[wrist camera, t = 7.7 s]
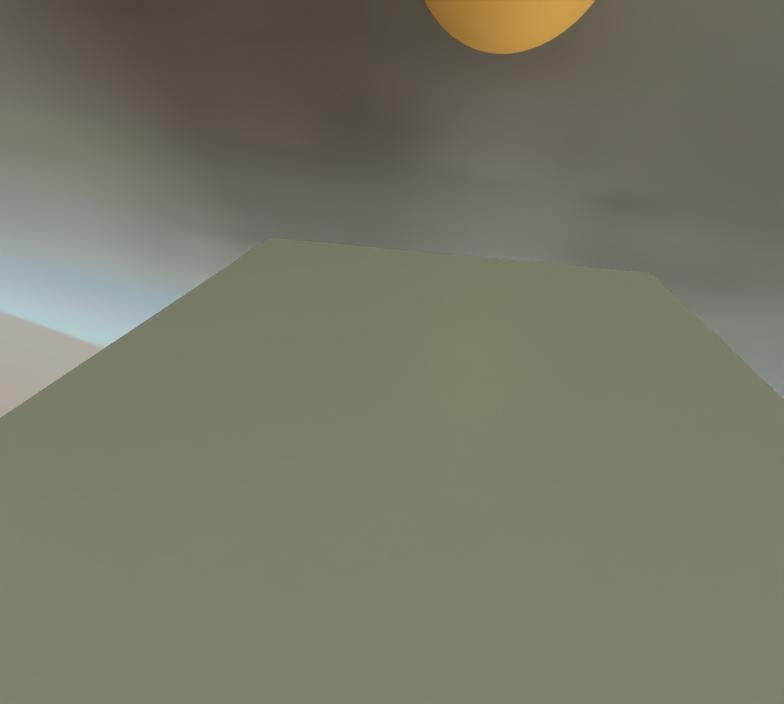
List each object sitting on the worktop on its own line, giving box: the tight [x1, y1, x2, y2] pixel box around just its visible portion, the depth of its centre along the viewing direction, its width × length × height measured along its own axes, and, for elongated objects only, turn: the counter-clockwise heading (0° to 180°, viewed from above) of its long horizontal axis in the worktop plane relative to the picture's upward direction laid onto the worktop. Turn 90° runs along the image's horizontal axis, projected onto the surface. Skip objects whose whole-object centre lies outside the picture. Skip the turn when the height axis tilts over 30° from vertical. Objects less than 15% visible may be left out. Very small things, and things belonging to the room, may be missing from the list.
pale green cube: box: [0, 238, 784, 704], centre depth 7 cm, size 8×8×9 cm
